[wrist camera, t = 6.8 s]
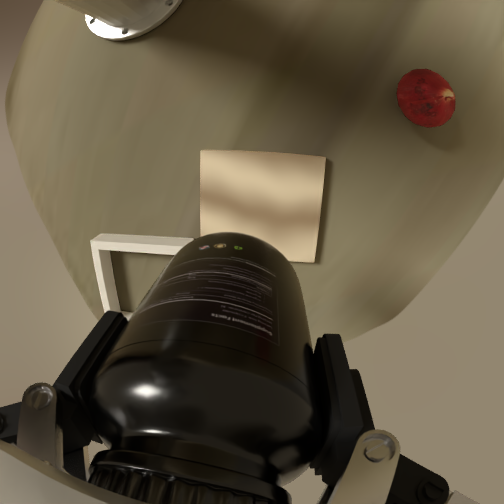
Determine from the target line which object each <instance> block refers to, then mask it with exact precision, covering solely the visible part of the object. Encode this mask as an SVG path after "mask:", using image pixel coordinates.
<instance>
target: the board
mask: <svg viewBox="0 0 504 504" xmlns="http://www.w3.org/2000/svg"><path fill="white" fill-rule="evenodd" d="M325 161H326V157H323V156H313V155H302V154H290V153H277V152H260V151H235V150H201V163H200V221H201V237H202V236H205V235H208V234H212V233H218V232H238V233H244V234H248V235H251V236H254V237H257V238H259V239H261V240H264V241H266V242H267V243H269V244H271V245H272V246H273V247H275V248H276V249H277V250H279V251H280V252H281V253H282V254H283V255H284V256H285V257H286V258H287V260H288V261H297V262H313V263H314V260H315V252H316V245H317V237H318V229H319V221H320V212H321V203H322V193H323V183H324V173H325Z"/></svg>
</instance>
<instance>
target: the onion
mask: <svg viewBox="0 0 504 504" xmlns="http://www.w3.org/2000/svg"><path fill="white" fill-rule="evenodd" d="M397 99H398V105H399V107H400V108H401V110H402V112H403V113H404V115H405V116H406V117H407V118H408V119H409V120H411V121H412V122H413V123H415V124H417V125H420V126H424V127H436V126H441V125H443V124H444V123H445V122H447V121H448V120H449V119H450V118H451V116H452V114H453V112H454V111H455V94H454V92H453V90H452V88H451V87H450V85H449V83H448V82H447V81H446V80H445V79H444V78H443V77H442V76H440V75H439V74H438V73H435V72H433V71H431V70H428V69H415V70H412V71H410V72H409V73H407V74H405V75H404V76H403V77H402V79H401V80H400V82H399V83H398V88H397Z"/></svg>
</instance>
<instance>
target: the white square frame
mask: <svg viewBox="0 0 504 504" xmlns="http://www.w3.org/2000/svg"><path fill="white" fill-rule="evenodd" d="M193 240H194V238H179V237H161V236H143V235H123V234H103V233H101V234H99V235H98V236H96V237H95V238H93V239H92V240H91V241H90V242H91V248H92V254H93V260H94V266H95V271H96V276H97V281H98V286H99V290H100V295H101V299H102V303H103V308H104V312H105V313H106V312H107V311H108V310H110V311H116V312H121V313H122V314H123V315H124V317H126V318H127V320H129V319H130V317H131V316H132V314H133V313H132V312H125V311H121V310H120V305H119V300H118V295H117V290H116V285H115V280H114V274H113V268H112V262H111V256H110V250H113V251H126V252H140V253H154V254H168V255H175V254H176V253H177V252H178V251H179V250H180V249H181V248H183V247H184V246H185V245H186V244H188V243H189V242H191V241H193Z"/></svg>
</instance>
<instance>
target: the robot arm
mask: <svg viewBox="0 0 504 504" xmlns="http://www.w3.org/2000/svg"><path fill="white" fill-rule="evenodd" d="M54 1H56V2H59V3H61V4H63V5H66V6H68V7H70V8H72V9H75V10H77V11H79V12H81V13H83V14H85V16H86V22H87V25H88V27H89V28H90V30H91V31H92V32H93V33H94V34H96V35H97V36H99V37H102V38H104V39H107V40H112V41H121V40H127V39H132V38H135V37H138V36H141V35H143V34H145V33H147V32H149V31H151V30H152V29H154V28H156V27H157V26H159V25H160V24H161V23H163V22H164V21H165V20H166V19H167V18H169V17H170V16H171V14H172V13H173V12H174V11H175V10H176V9H177V8H178V6H179V5H180V3H181V2H182V0H54ZM170 5H171V6H170ZM127 322H128V320H127V318H126V317H124V315H123V314H122V313H121V312H116V311H110V310H108V311H107V312H106V313H105V314H104V315H103V316H102V318H101V319H100V320H99V322H98V323H97V324H96V326H95V327H94V328H93V330H92V331H91V332H90V334H89V335H88V336H87V338H86V339H85V340H84V342H83V343H82V345H81V346H80V347H79V349H78V350H77V351H76V353H75V354H74V355H73V357H72V358H71V360H70V361H69V362H68V364H67V365H66V367H65V368H64V370H63V371H62V373H61V374H60V375H59V377H58V378H57V380H56V381H55V383H54V384H53V386H51V385H50V384H47V383H43V382H41V383H35V384H33V385H31V386H30V387H28V388H27V389H26V391H25V392H24V394H23V397H22V402H18V403H15V404H12V405H8V406H4V407H0V504H149V503H145V502H142V501H138V500H135V499H132V498H128V497H125V496H122V495H119V494H116V493H113V492H111V491H108V490H105V489H102V488H100V487H97V486H95V485H92V484H90V483H87V482H88V479H89V477H90V475H89V472H88V469H89V466H90V463H89V454H88V445H89V444H90V442H91V440H92V441H95V442H98V443H101V444H102V443H103V441H102V440H101V438H100V437H99V435H98V433H97V432H96V430H95V427H94V425H93V422H92V419H91V415H90V409H89V390H90V386H91V382H92V380H93V378H94V376H95V374H96V372H97V370H98V368H99V367H100V364H101V363H102V361H103V359H104V358H105V356H106V354H107V353H108V351H109V350H110V348H111V346H112V345H113V343H114V342H115V340H116V339H117V337H118V336H119V334H120V333H121V331H122V329H123V328H124V326H125V325H126V323H127ZM313 355H314V361H315V367H316V373H317V379H318V385H319V392H320V399H321V405H322V413H323V424H324V435H323V441H322V444H321V447H320V450H319V452H318V454H317V456H316V457H315V459H314V461H313V462H312V463H311V465H310V468H315V475H322V481H323V482H325V483H326V484H327V485H326V487H325V489H324V491H323V493H322V494H321V496H320V498H319V500H318V502H317V504H479V503H477V502H475V501H474V500H472V499H470V498H468V497H466V496H464V495H463V494H461V493H459V492H458V491H454V492H451V491H450V490H449V486H448V483H447V482H446V480H445V479H444V478H443V477H441V476H440V475H438V474H436V473H434V472H432V471H430V470H428V469H426V468H425V467H423V466H421V465H419V464H417V463H416V462H414V461H412V460H410V459H408V458H407V457H405V456H403V455H401V454H400V445H399V442H398V440H397V439H396V437H395V436H394V435H392V434H391V433H389V432H387V431H384V430H375V428H374V424H373V420H372V416H371V412H370V408H369V405H368V401H367V398H366V394H365V390H364V387H363V383H362V380H361V376H360V373H359V371H358V370H357V369H349V365H348V361H347V358H346V354H345V350H344V347H343V343H342V340H341V336H340V335H339V334H324V335H323V337H322V338H320V337H319V338H318V339H317V342H316V346H315V350H314V354H313Z"/></svg>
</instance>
